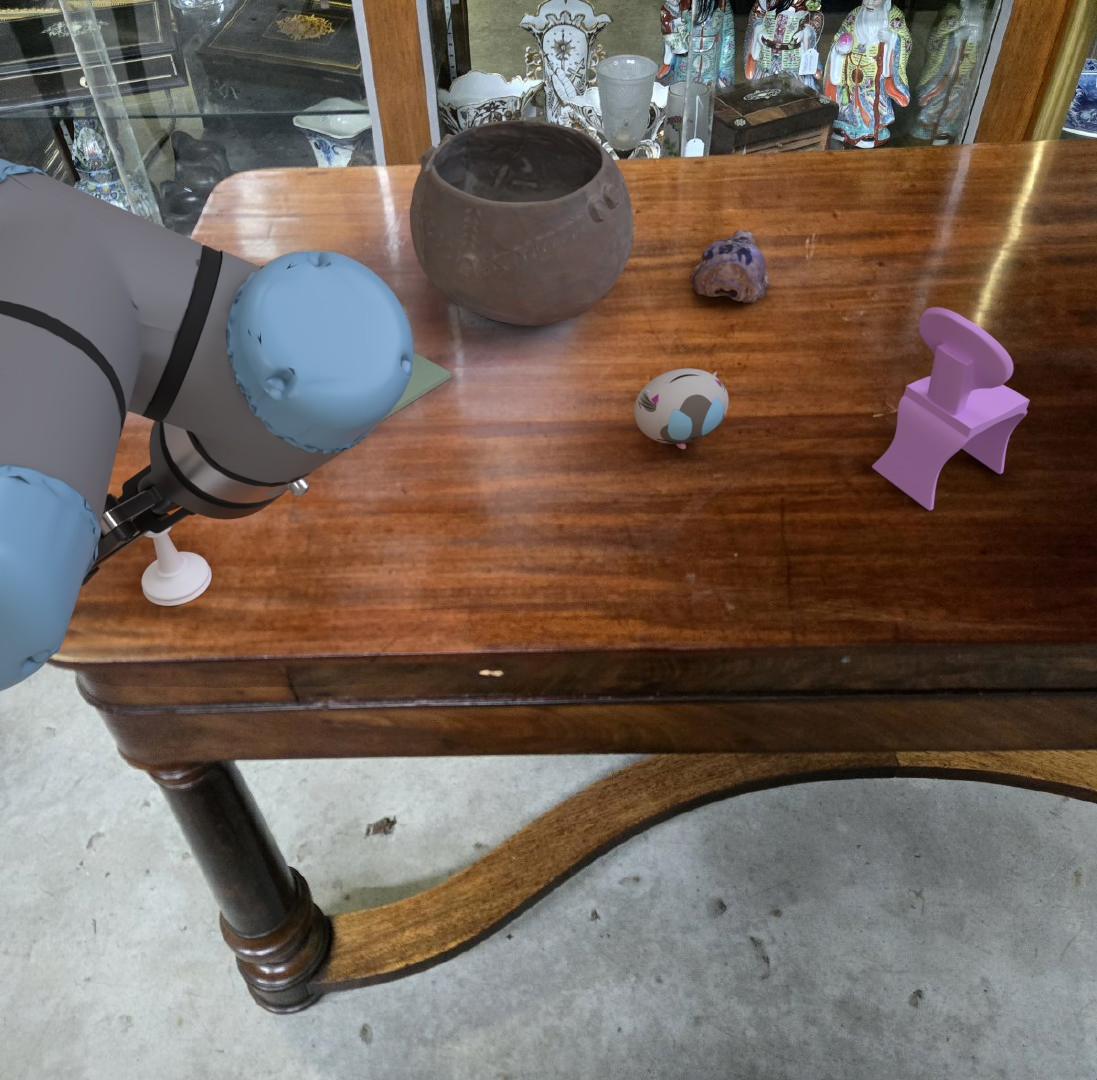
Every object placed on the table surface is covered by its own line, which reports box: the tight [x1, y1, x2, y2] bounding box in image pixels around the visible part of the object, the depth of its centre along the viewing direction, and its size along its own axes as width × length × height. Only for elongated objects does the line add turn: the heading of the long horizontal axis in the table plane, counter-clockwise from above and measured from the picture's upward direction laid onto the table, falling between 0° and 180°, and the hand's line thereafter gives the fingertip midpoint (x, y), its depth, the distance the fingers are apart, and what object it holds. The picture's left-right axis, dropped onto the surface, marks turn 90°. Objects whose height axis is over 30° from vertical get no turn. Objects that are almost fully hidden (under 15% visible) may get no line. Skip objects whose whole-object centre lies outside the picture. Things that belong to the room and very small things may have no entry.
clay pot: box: [409, 119, 635, 327], centre depth 98 cm, size 21×21×15 cm
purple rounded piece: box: [689, 229, 772, 304], centre depth 103 cm, size 12×8×6 cm, turn 154°
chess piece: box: [141, 526, 213, 607], centre depth 73 cm, size 5×5×10 cm
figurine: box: [633, 367, 730, 450], centre depth 85 cm, size 8×6×7 cm
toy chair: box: [871, 306, 1031, 512], centre depth 79 cm, size 8×9×15 cm
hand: (158, 516), depth 71 cm, fingers open, 13 cm apart
